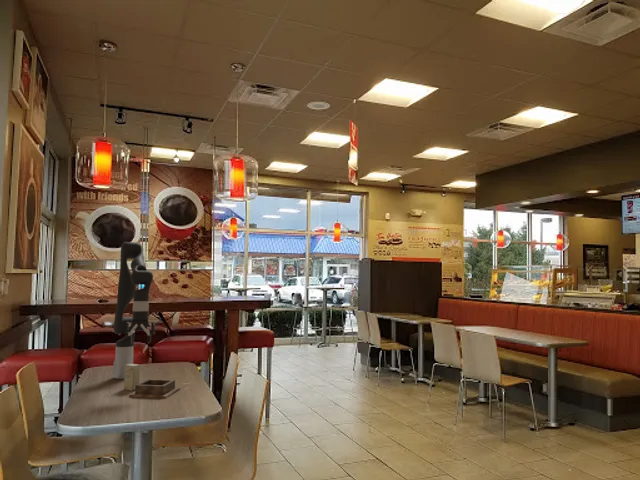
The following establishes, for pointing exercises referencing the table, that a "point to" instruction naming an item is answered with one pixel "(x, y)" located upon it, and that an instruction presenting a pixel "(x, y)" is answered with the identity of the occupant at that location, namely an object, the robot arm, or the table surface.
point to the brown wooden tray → (155, 388)
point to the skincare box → (131, 376)
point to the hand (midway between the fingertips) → (139, 343)
